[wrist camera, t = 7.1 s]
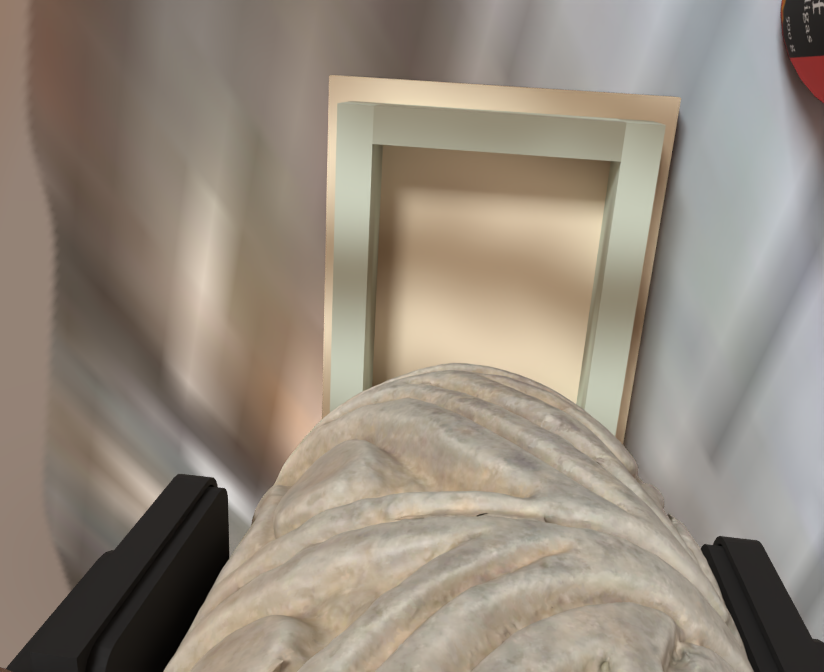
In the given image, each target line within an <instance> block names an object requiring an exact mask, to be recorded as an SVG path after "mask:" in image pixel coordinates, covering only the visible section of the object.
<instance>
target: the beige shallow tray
mask: <svg viewBox="0 0 824 672" xmlns="http://www.w3.org/2000/svg"><path fill="white" fill-rule="evenodd" d="M680 101H681V98H679V97H671V96H655V95H639V94H623V93H607V92H592V91H576V90H560V89H544V88H528V87H513V86H497V85H481V84H465V83H449V82H434V81H418V80H402V79H386V78H370V77H354V76H339V75H329V112H328V160H327V208H326V256H325V304H324V352H323V400H322V419H323V418H324V417H325V416H327V415H328V414H329V413H330V412H331V411H333V410H334V409H336V408H337V407H338V406H340V405H341V404H343V403H344V402H346V401H347V400H349V399H350V398H352V397H354V396H355V395H357V394H358V393H360V392H363V391H365V390H367V389H369V388H371V387H374V386H376V385H379V384H381V383H383V382H385V381H387V380H390V379H392V378H395V377H398V376H401V375H404V374H407V373H409V372H412V371H415V370H418V369H422V368H426V367H431V366H436V365H440V364H447V363H468V364H476V365H484V366H490V367H494V368H498V369H502V370H506V371H509V372H512V373H516V374H519V375H521V376H524V377H527V378H529V379H532V380H534V381H536V382H539V383H541V384H543V385H545V386H547V387H549V388H551V389H553V390H555V391H556V392H558V393H560V394H561V395H563V396H564V397H566V398H568V399H569V400H571V401H572V402H574V403H575V404H577V405H578V406H580V407H581V408H582V409H584V410H585V411H586V412H587V413H589V414H590V415H591V416H592V417H593V418H595V419H596V420H597V421H599V422H600V423H601V424H602V425H603V426H605V427H606V428H607V429H608V430H609V431H610V432H611V433H612V434H613V435H614V436H615V437H616V438H617V439H618V440H619V441H620V442H621V443H622V444H623V441H624V435H625V429H626V423H627V417H628V411H629V405H630V399H631V393H632V388H633V382H634V376H635V370H636V364H637V358H638V352H639V346H640V340H641V334H642V328H643V322H644V316H645V310H646V304H647V298H648V292H649V286H650V280H651V274H652V268H653V262H654V256H655V250H656V244H657V238H658V232H659V226H660V220H661V214H662V208H663V203H664V197H665V191H666V185H667V179H668V173H669V167H670V161H671V155H672V149H673V143H674V137H675V131H676V125H677V119H678V113H679V107H680Z"/></svg>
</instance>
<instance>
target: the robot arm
mask: <svg viewBox="0 0 824 672" xmlns="http://www.w3.org/2000/svg"><path fill="white" fill-rule="evenodd" d="M701 551H702V553H703V555H704V557H705V558H706V559H707V562H708V565H709V567H710V569H711V571H712V573H713V575H714V577H715V579H716V581H717V583H718V586H719V588H720V591H721V594H722V597H723V600H724V603H725V605H726V608H727V609H728V611H729V613H730V615H731V617H732V619H733V621H734V623H735V625H736V628H737V630H738V632H739V634H740V637H741V639H742V642H743V645H744V648H745V651H746V654H747V658H748V660H749V662H750V664H751V667H752V669H753V671H754V672H824V643H823V642H822V641H820V640H818V639H812V637H811V635H810V633H809V632H808V630H807V628H806V626H805V624H804V622H803V620H802V618H801V617H800V615H799V613H798V611H797V609H796V607H795V605H794V603H793V602H792V600H791V598H790V596H789V594H788V592H787V590H786V589H785V587H784V585H783V583H782V581H781V579H780V577H779V575H778V574H777V572H776V570H775V568H774V566H773V564H772V562H771V560H770V559H769V557H768V555H767V553H766V551H765V549H764V547H763V545H762V544H761V543H760V542H759V541H757V540H749V539H740V538H732V537H723V536H719V537H717V538H716V540H715V541H714V544H713V545H707V544H704V545H703V546H702V548H701ZM228 560H229V524H228V495H227V491H226V489H225V488H218V487H217V482H216V480H215V479H214V478H212V477H203V476H194V475H186V474H178V475H177V476H175V477H174V479H173V480H172V481H171V482H170V483H169V485H168V486H167V487H166V488H165V489H164V491H163V492H162V493H161V494H160V495H159V497H158V498H157V499H156V500H155V502H154V503H153V504H152V505H151V506H150V508H149V509H148V510H147V511H146V512H145V514H144V515H143V516H142V517H141V518H140V520H139V521H138V522H137V523H136V525H135V526H134V527H133V528H132V529H131V531H130V532H129V533H128V534H127V535H126V537H125V538H124V539H123V540H122V541H121V543H120V544H119V545H118V546H117V547H116V549H115V550H114V551H113V550H111V551H108V552H105V553H104V554H103V555H102V556H101V557H100V558H99V559H98V560H97V561H96V562H95V564H94V565H93V566H92V567H91V568H90V569H89V571H88V572H87V573H86V574H85V575H84V577H83V578H82V579H81V580H80V581H79V582H78V584H77V585H76V586H75V587H74V588H73V590H72V591H71V592H70V593H69V594H68V596H67V597H66V598H65V599H64V600H63V601H62V603H61V604H60V605H59V606H58V607H57V609H56V610H55V611H54V612H53V613H52V614H51V616H50V617H49V618H48V619H47V621H46V622H45V623H44V624H43V625H42V627H41V628H40V629H39V630H38V631H37V632H36V633H35V635H34V636H33V637H32V638H31V639H30V641H29V642H28V643H27V644H26V645H25V646H24V648H23V649H22V650H21V651H20V652H19V654H18V655H17V656H16V657H15V658H14V659H13V661H12V662H11V663H10V664H9V665H8V667H7V668H6V669H5V668H2V667H0V672H163V671H164V670H165V668H166V666H167V665H168V663H169V662H170V660H171V659H172V657H173V656H174V654H175V653H176V651H177V649H178V647H179V646H180V644H181V642H182V640H183V639H184V637H185V636H186V634H187V632H188V630H189V629H190V627H191V625H192V623H193V621H194V619H195V617H196V615H197V613H198V611H199V610H200V608H201V606H202V605H203V603H204V602H205V600H206V598H207V596H208V594H209V592H210V590H211V589H212V587H213V585H214V583H215V581H216V579H217V577H218V575H219V573H220V572H221V570H222V568H223V567H224V566H225V564H226V563H227V561H228Z"/></svg>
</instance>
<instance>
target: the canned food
mask: <svg viewBox="0 0 824 672" xmlns="http://www.w3.org/2000/svg"><path fill="white" fill-rule="evenodd" d="M781 23H782V35H783V38H784V42H785V46H786V49H787V53H788V56H789V58H790V60H791V62H792V64H793V66H794V68H795V70H796V72H797V73H798V75H799V77H800V79H801V80H802V82H803V83H804V84H805V85H806V86H807V87H808V89H809V90H810V91H811V92H812V93H813V95H814V96H815V97H816V98H818V99H819V100H820V101H822V102H823V103H824V0H782V5H781Z"/></svg>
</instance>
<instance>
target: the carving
mask: <svg viewBox="0 0 824 672" xmlns="http://www.w3.org/2000/svg"><path fill="white" fill-rule="evenodd" d="M637 473H638V466H637V463H636V461H635V460H634V458H633V457H632V455H631V454H630V453H629V452H628V450H627V449H626V448H625V447H624V446H623V444H622V443H621V442H620V441H619V440H618V439H617V438H616V437H615V436H614V435H613V434H612V433H611V432H610V431H609V430H608V429H607V428H606V427H605V426H603V425H602V424H601V423H600V422H599V421H597V420H596V419H595V418H593V417H592V416H591V415H590V414H589V413H587V412H586V411H585V410H584V409H582V408H581V407H580V406H578V405H577V404H575V403H574V402H572V401H571V400H569V399H568V398H566V397H564V396H563V395H561V394H560V393H558V392H556V391H555V390H553V389H551V388H549V387H547V386H545V385H543V384H541V383H539V382H536V381H534V380H532V379H529V378H527V377H524V376H521V375H519V374H516V373H512V372H509V371H506V370H502V369H498V368H494V367H490V366H484V365H476V364H468V363H447V364H440V365H436V366H431V367H426V368H422V369H418V370H415V371H412V372H409V373H407V374H404V375H401V376H398V377H395V378H392V379H390V380H387V381H385V382H383V383H381V384H379V385H376V386H374V387H371V388H369V389H367V390H365V391H363V392H360V393H358V394H357V395H355V396H354V397H352V398H350V399H349V400H347V401H346V402H344V403H343V404H341V405H340V406H338V407H337V408H336V409H334V410H333V411H331V412H330V413H329V414H328V415H327V416H325V417H324V418H323V419H322V420H321V421H320V422H319V423H318V424H317V425H316V426H315V427H314V428H313V429H312V430H311V431H310V432H309V433H308V434H307V435H306V436H305V437H304V439H303V440H302V441H301V443H300V444H299V445H298V447H297V448H296V449H295V450H294V452H293V453H292V454H291V455H290V457H289V458H288V459H287V461H286V462H285V464H284V465H283V468H282V469H281V472H280V474H279V476H278V478H277V480H276V482H275V484H274V486H273V487H271V488H270V489H269V490H268V491H267V492H266V493H265V495H264V496H263V497H262V499H261V500H260V502H259V504H258V506H257V507H256V510H255V512H254V516H253V519H252V524H251V527H250V528H249V530H248V531H247V533H246V534H245V536H244V537H243V539H242V540H241V542H240V543H239V545H238V546H237V548H236V549H235V550H234V552H233V554H232V555H231V557H230V558H229V560H228V561H227V563H226V564H225V566H224V567H223V568H222V570H221V572H220V573H219V575H218V577H217V579H216V581H215V583H214V585H213V587H212V589H211V590H210V592H209V594H208V596H207V598H206V600H205V602H204V603H203V605H202V606H201V608H200V610H199V611H198V613H197V615H196V617H195V619H194V621H193V623H192V625H191V627H190V629H189V630H188V632H187V634H186V636H185V637H184V639H183V640H182V642H181V644H180V646H179V647H178V649H177V651H176V653H175V654H174V656H173V657H172V659H171V660H170V662H169V663H168V665H167V666H166V668H165V670H164V671H163V672H754V671H753V669H752V667H751V664H750V662H749V660H748V658H747V654H746V651H745V648H744V645H743V642H742V639H741V637H740V634H739V632H738V630H737V628H736V625H735V623H734V621H733V619H732V617H731V615H730V613H729V611H728V609H727V608H726V605H725V603H724V600H723V597H722V594H721V591H720V588H719V586H718V583H717V581H716V579H715V577H714V575H713V573H712V571H711V569H710V567H709V565H708V562H707V559H706V558H705V557H704V555H703V553H702V551H701V549H700V547H699V546H698V544H697V543H696V542H695V540H694V539H693V537H692V536H691V534H690V533H689V531H688V530H687V528H686V527H685V526H684V525H683V523H682V522H680V521H677V520H676V519H675V518H674V517H673V516H672V515H671V514H669V513H668V514H669V515H668V514H667V515H668V516H667V515H666V513H665V511H664V510H663V509H664V499H663V497H662V495H661V493H660V492H659V490H658V489H657V488H656V487H654V486H653V485H651V484H644V482H643V481H642V480H641V479H640V478H639V476H638V475H637ZM668 517H669V518H668Z"/></svg>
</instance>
